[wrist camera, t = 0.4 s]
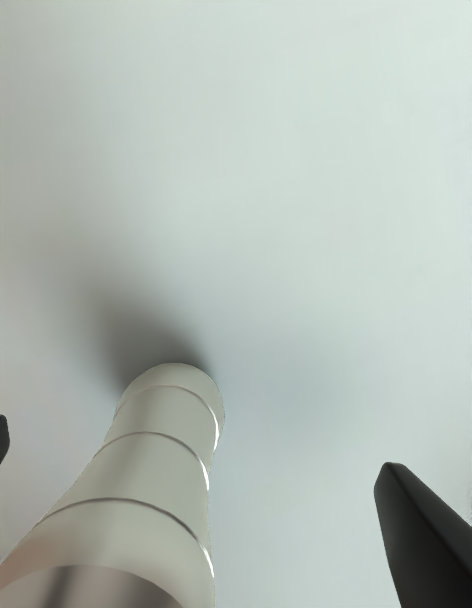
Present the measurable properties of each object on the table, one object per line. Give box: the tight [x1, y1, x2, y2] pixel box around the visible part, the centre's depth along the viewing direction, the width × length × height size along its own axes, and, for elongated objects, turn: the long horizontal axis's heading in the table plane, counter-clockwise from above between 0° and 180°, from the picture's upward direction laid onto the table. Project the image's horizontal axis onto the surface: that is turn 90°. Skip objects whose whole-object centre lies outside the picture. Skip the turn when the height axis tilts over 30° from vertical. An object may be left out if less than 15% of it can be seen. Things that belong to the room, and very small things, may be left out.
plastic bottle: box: [0, 363, 225, 608], centre depth 14 cm, size 6×7×20 cm
